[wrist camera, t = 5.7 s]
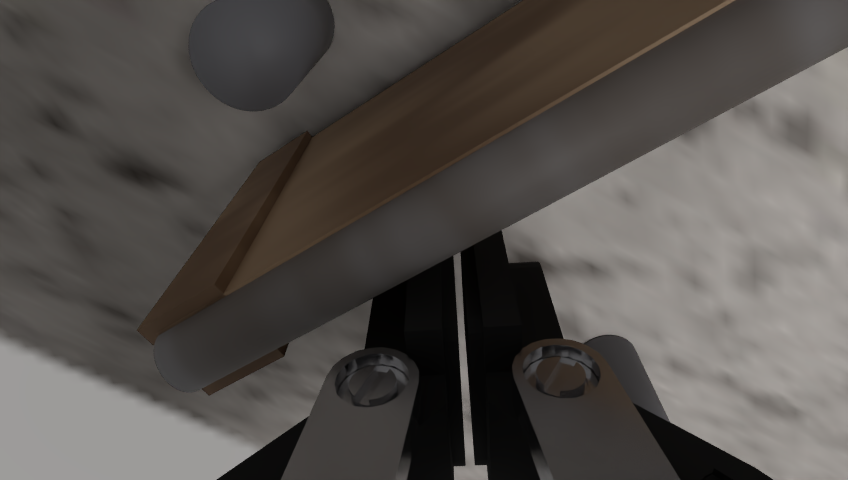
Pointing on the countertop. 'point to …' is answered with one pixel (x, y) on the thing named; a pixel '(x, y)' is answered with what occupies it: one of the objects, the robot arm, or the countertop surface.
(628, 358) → the post
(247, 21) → the gate frame
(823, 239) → the countertop surface
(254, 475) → the robot arm
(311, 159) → the gate
